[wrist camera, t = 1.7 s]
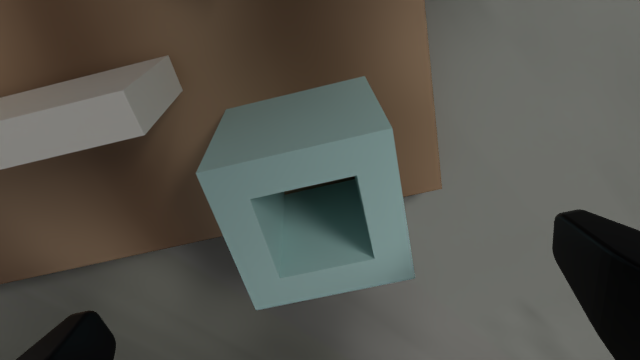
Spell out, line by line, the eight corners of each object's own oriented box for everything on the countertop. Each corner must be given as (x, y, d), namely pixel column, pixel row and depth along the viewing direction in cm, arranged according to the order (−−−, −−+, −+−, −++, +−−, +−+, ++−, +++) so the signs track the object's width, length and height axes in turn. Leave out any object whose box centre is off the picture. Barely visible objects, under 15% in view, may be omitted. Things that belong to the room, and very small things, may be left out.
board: (369, -448, 8) (377, -498, 7) (433, 174, 15) (442, 188, 14) (-420, -182, 9) (-496, -197, 8) (-22, 274, 16) (-41, 293, 15)
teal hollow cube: (364, 76, 12) (392, 128, 8) (385, 195, 14) (415, 278, 10) (226, 109, 12) (195, 173, 8) (266, 221, 14) (255, 310, 11)
